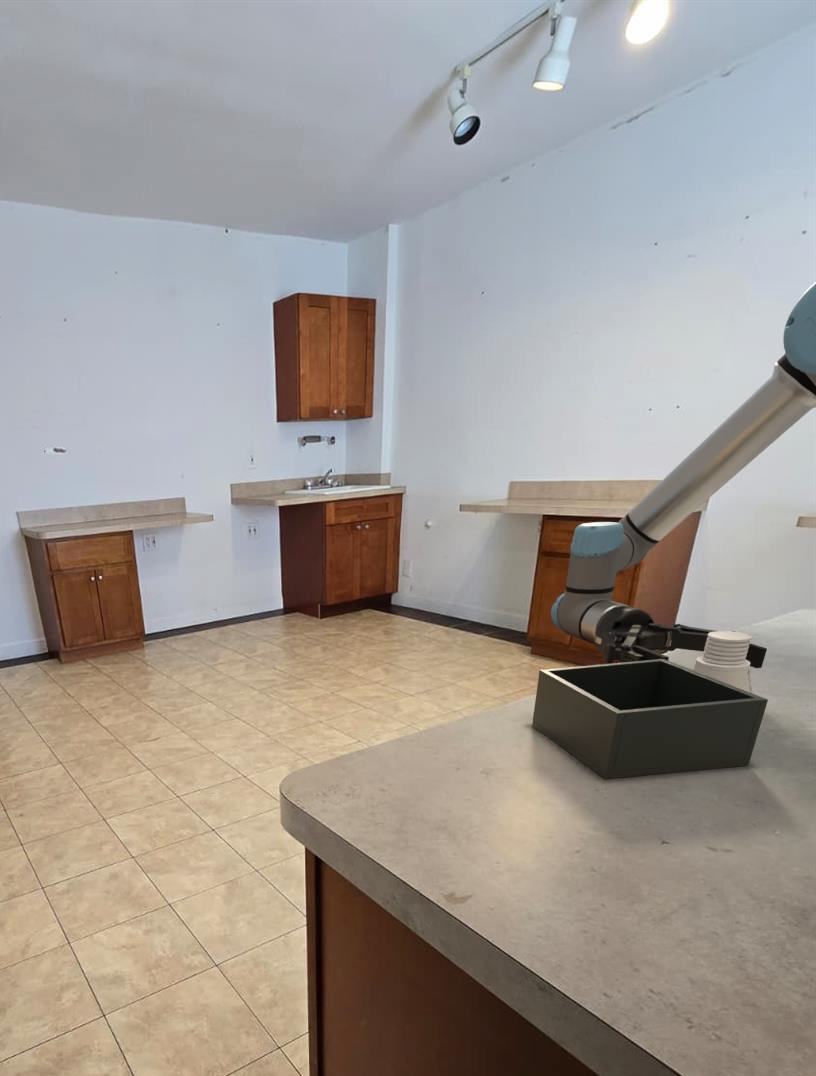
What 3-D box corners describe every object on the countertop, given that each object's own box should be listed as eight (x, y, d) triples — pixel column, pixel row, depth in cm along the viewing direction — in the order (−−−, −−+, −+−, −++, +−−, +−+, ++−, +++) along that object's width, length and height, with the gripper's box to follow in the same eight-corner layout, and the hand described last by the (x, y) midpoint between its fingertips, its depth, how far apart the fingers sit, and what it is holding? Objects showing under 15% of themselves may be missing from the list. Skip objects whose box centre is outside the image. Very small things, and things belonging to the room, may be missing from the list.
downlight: (681, 714, 86) (699, 641, 81) (671, 697, 91) (687, 628, 87) (754, 718, 83) (776, 643, 78) (738, 700, 88) (758, 629, 84)
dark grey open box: (651, 714, 86) (663, 658, 83) (748, 765, 71) (768, 699, 68) (531, 725, 86) (539, 669, 82) (604, 779, 71) (617, 713, 67)
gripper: (685, 644, 107) (793, 681, 88) (540, 657, 106) (618, 697, 87) (696, 599, 104) (810, 627, 85) (546, 611, 103) (628, 643, 84)
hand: (713, 662), depth 86 cm, fingers open, 13 cm apart
